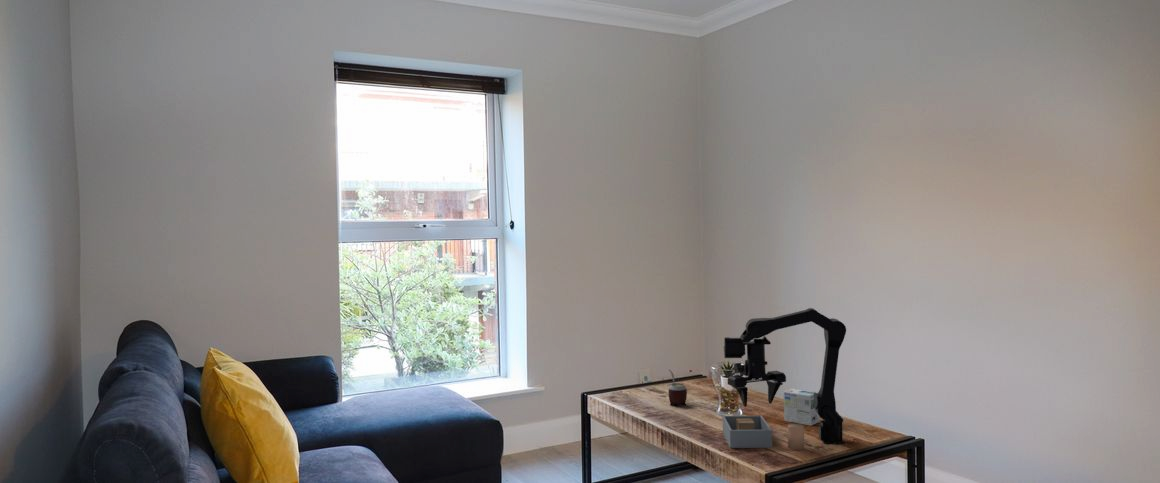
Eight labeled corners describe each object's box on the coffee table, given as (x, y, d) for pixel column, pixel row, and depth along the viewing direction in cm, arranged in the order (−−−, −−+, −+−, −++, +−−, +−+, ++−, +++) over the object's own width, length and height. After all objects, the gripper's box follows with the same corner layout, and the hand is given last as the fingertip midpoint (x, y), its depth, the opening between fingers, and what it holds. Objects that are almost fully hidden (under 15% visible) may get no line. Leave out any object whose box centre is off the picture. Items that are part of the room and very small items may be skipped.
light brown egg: (802, 445, 243) (801, 423, 243) (806, 450, 238) (805, 428, 238) (786, 445, 243) (786, 423, 243) (789, 450, 238) (789, 428, 238)
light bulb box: (820, 422, 269) (819, 391, 268) (811, 426, 264) (811, 395, 264) (792, 417, 276) (792, 387, 276) (783, 421, 271) (783, 391, 271)
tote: (761, 431, 258) (761, 415, 258) (772, 447, 241) (772, 430, 241) (722, 432, 259) (722, 415, 259) (730, 447, 242) (730, 430, 242)
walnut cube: (754, 437, 250) (754, 422, 250) (739, 437, 250) (738, 422, 250) (751, 433, 255) (751, 418, 255) (736, 433, 255) (736, 418, 255)
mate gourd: (685, 402, 300) (684, 364, 299) (688, 407, 292) (688, 369, 292) (666, 403, 300) (665, 365, 299) (669, 408, 292) (668, 369, 291)
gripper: (768, 351, 259) (769, 396, 260) (718, 356, 254) (720, 402, 254) (786, 356, 249) (787, 403, 249) (735, 362, 243) (736, 410, 244)
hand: (757, 404), depth 249 cm, fingers open, 9 cm apart
